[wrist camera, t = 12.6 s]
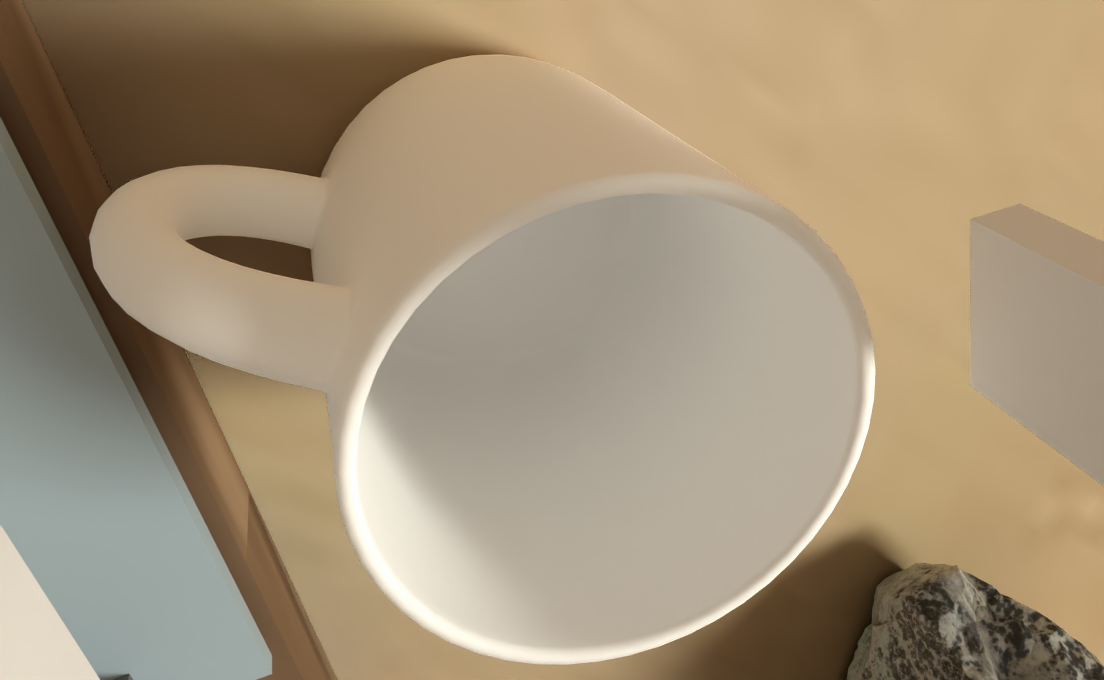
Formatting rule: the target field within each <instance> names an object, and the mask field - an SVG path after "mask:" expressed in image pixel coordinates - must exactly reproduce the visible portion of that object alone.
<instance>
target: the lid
mask: <svg viewBox="0 0 1104 680" xmlns="http://www.w3.org/2000/svg"><path fill="white" fill-rule="evenodd" d="M0 525H1V526H2V528H3V529H4V531H5V532H6V534H7V535H8V537H9V539H10V540H11V542H12V543H13V545H14V546H15V548H16V550H17V551H18V553H19V554H20V556H21V557H22V559H23V560H24V562H25V564H26V565H27V567H28V568H29V570H30V571H31V573H32V574H33V576H34V578H35V579H36V581H37V582H38V584H39V585H40V587H41V588H42V590H43V592H44V593H45V595H46V596H47V598H48V599H49V601H50V602H51V604H52V606H53V607H54V609H55V610H56V612H57V613H58V615H59V616H60V618H61V620H62V621H63V623H64V624H65V626H66V627H67V629H68V630H69V632H70V634H71V635H72V637H73V638H74V640H75V641H76V643H77V644H78V646H79V648H80V649H81V651H82V652H83V654H84V655H85V657H86V658H87V660H88V662H89V663H90V665H91V666H92V668H93V669H94V671H95V673H96V674H97V676H98V677H99V679H100V680H257V679H259V678H262V677H265V676H268V675H271V674H272V655H271V653H270V651H269V649H268V647H267V645H266V643H265V641H264V639H263V637H262V635H261V633H260V631H259V629H258V627H257V625H256V623H255V621H254V619H253V617H252V615H251V613H250V611H249V609H248V607H247V605H246V603H245V601H244V599H243V597H242V595H241V593H240V591H239V589H238V587H237V585H236V583H235V581H234V579H233V577H232V575H231V573H230V571H229V569H228V567H227V565H226V563H225V561H224V559H223V557H222V555H221V553H220V551H219V549H218V547H217V546H216V544H215V542H214V540H213V538H212V536H211V534H210V532H209V530H208V528H207V526H206V524H205V522H204V520H203V518H202V516H201V514H200V512H199V510H198V508H197V506H196V504H195V502H194V500H193V498H192V496H191V494H190V492H189V490H188V488H187V486H186V484H185V482H184V480H183V478H182V476H181V474H180V472H179V470H178V468H177V466H176V464H175V462H174V460H173V458H172V456H171V454H170V452H169V450H168V448H167V446H166V444H165V442H164V440H163V438H162V436H161V434H160V432H159V431H158V429H157V427H156V425H155V423H154V421H153V419H152V417H151V415H150V413H149V411H148V409H147V407H146V405H145V403H144V401H143V399H142V397H141V395H140V393H139V391H138V389H137V387H136V385H135V383H134V381H133V379H132V377H131V375H130V373H129V371H128V369H127V367H126V365H125V363H124V361H123V359H122V357H121V355H120V353H119V351H118V349H117V347H116V345H115V343H114V341H113V339H112V337H111V335H110V333H109V331H108V329H107V327H106V325H105V323H104V321H103V319H102V317H101V316H100V314H99V312H98V310H97V308H96V306H95V304H94V302H93V300H92V298H91V296H90V294H89V292H88V290H87V288H86V286H85V284H84V282H83V280H82V278H81V276H80V274H79V272H78V270H77V268H76V266H75V264H74V262H73V260H72V258H71V256H70V254H69V252H68V250H67V248H66V246H65V244H64V242H63V240H62V238H61V236H60V234H59V232H58V230H57V228H56V226H55V224H54V222H53V220H52V218H51V216H50V214H49V212H48V210H47V208H46V206H45V204H44V202H43V200H42V199H41V197H40V195H39V193H38V191H37V189H36V187H35V185H34V183H33V181H32V179H31V177H30V175H29V173H28V171H27V169H26V167H25V165H24V163H23V161H22V159H21V157H20V155H19V153H18V151H17V149H16V147H15V145H14V143H13V141H12V139H11V137H10V135H9V133H8V131H7V129H6V127H5V125H4V123H3V121H2V119H1V117H0Z"/></svg>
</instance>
